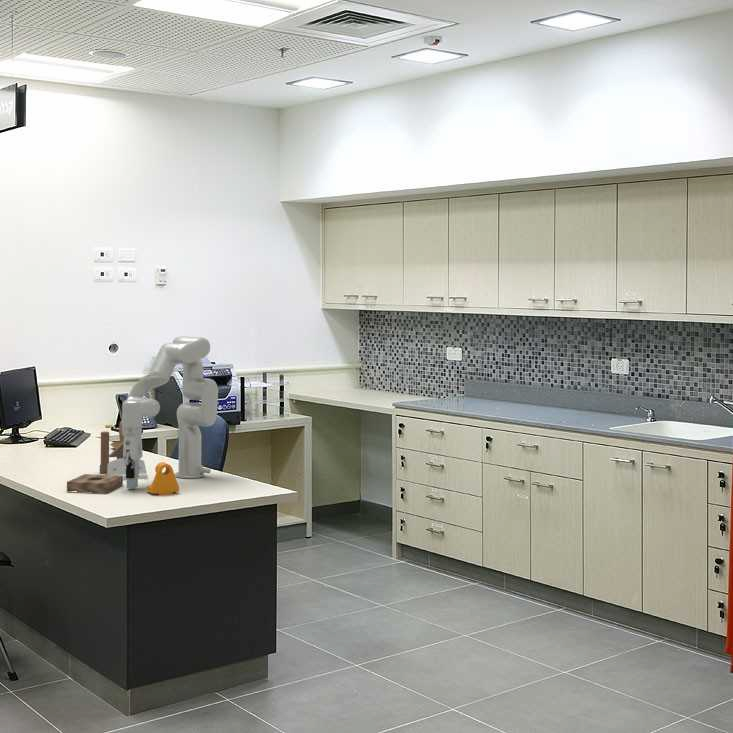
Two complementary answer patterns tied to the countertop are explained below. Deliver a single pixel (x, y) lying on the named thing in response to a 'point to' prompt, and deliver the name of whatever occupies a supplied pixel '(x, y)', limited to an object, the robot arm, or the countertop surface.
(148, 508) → the countertop surface
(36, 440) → the countertop surface
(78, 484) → the board
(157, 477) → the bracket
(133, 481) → the peg
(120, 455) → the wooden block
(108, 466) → the hinge
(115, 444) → the brown flared piece
